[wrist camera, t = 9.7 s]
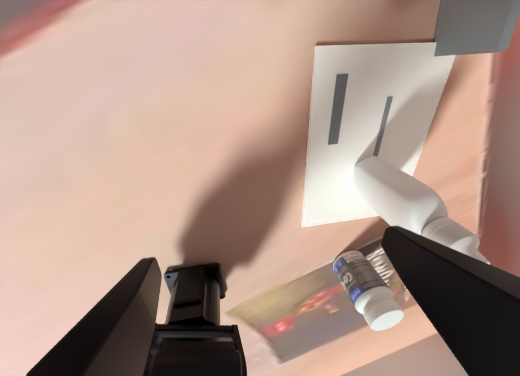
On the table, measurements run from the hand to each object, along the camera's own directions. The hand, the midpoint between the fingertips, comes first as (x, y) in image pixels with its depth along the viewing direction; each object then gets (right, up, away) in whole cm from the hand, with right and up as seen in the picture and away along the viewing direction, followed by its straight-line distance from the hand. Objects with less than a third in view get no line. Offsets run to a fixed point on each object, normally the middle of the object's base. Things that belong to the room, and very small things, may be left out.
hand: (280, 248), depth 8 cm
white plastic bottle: (+11, +4, +15) cm, 19 cm away
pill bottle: (+12, -8, +22) cm, 27 cm away
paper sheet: (+10, +6, +14) cm, 18 cm away
